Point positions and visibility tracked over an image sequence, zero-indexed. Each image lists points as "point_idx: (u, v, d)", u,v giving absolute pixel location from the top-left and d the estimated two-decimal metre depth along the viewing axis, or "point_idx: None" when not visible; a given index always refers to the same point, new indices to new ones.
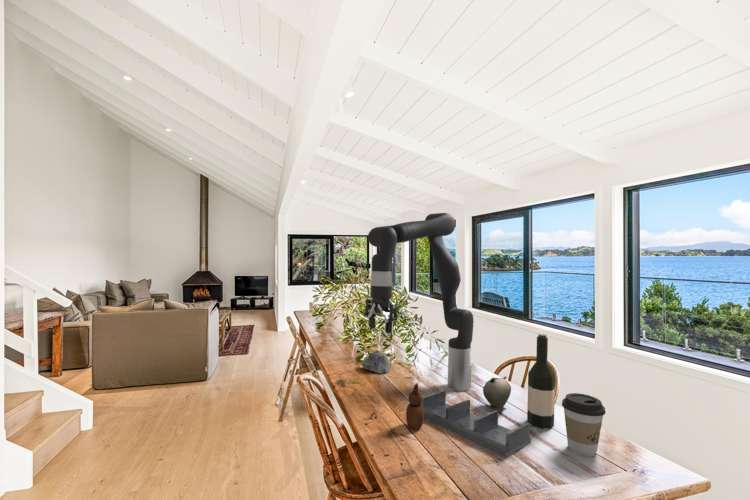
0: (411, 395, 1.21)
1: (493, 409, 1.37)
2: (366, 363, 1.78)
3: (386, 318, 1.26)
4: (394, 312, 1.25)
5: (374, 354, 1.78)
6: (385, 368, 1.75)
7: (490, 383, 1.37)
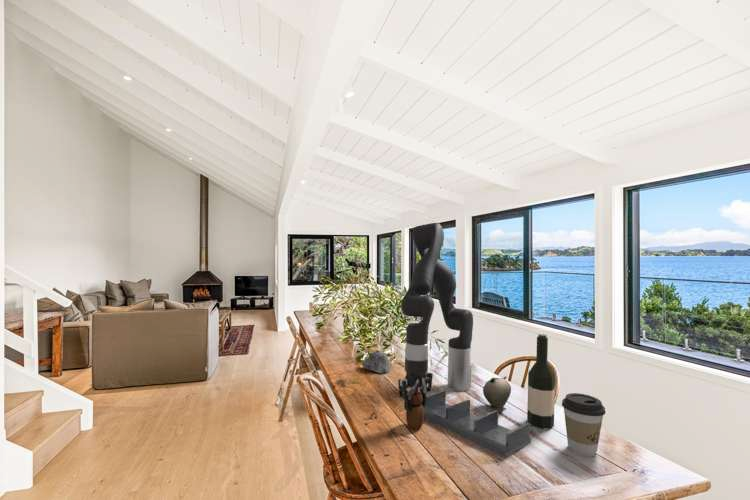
0: None
1: (493, 409, 1.37)
2: (366, 363, 1.79)
3: (425, 390, 1.24)
4: None
5: (374, 354, 1.78)
6: (385, 368, 1.75)
7: (490, 383, 1.37)
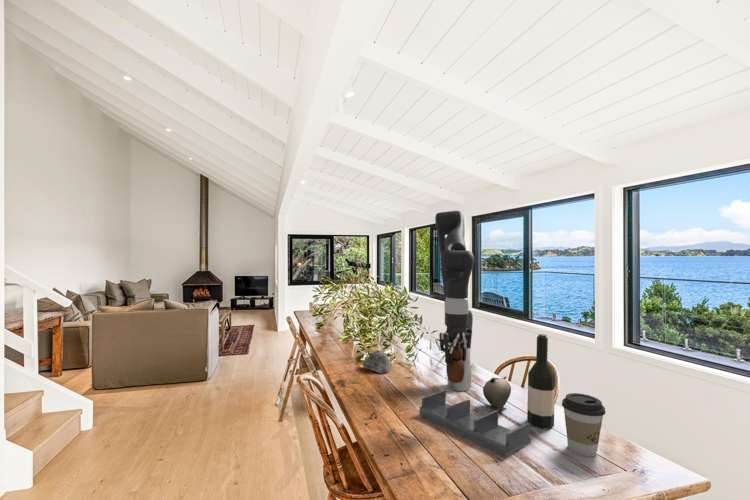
0: None
1: (493, 409, 1.37)
2: (367, 363, 1.79)
3: (465, 346, 1.24)
4: None
5: (375, 354, 1.78)
6: (385, 368, 1.75)
7: (490, 383, 1.37)
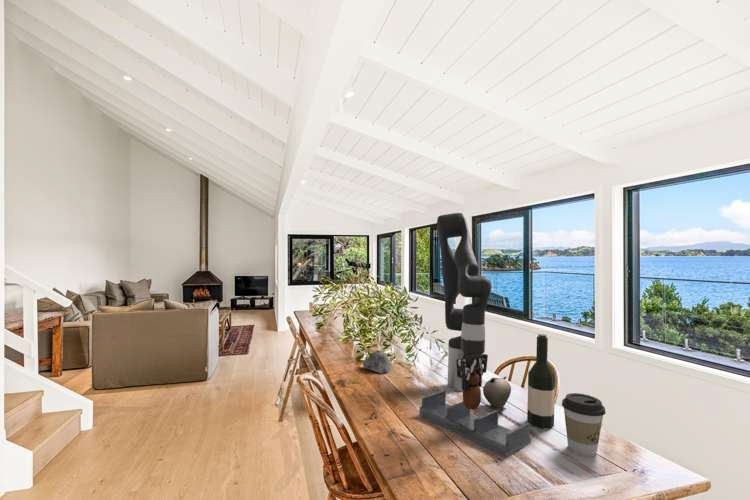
0: None
1: (493, 409, 1.37)
2: (367, 363, 1.79)
3: (481, 371, 1.24)
4: None
5: (375, 354, 1.78)
6: (385, 368, 1.75)
7: (490, 383, 1.37)
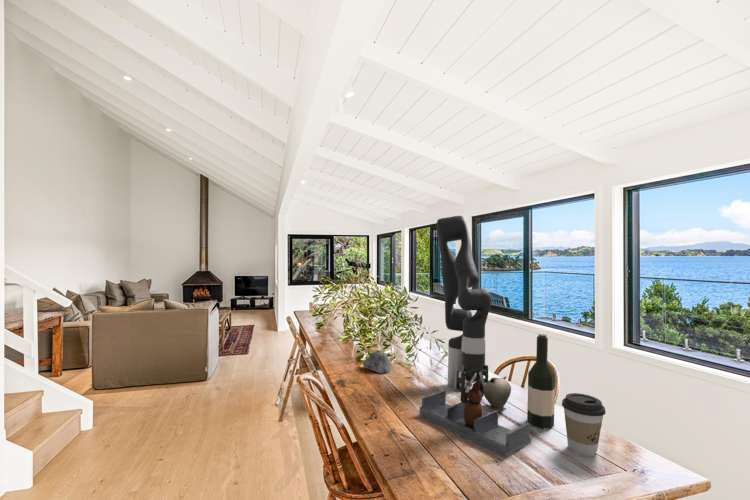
0: (471, 392, 1.21)
1: (493, 409, 1.37)
2: (367, 363, 1.79)
3: (483, 382, 1.24)
4: None
5: (375, 354, 1.78)
6: (385, 368, 1.75)
7: (490, 383, 1.37)
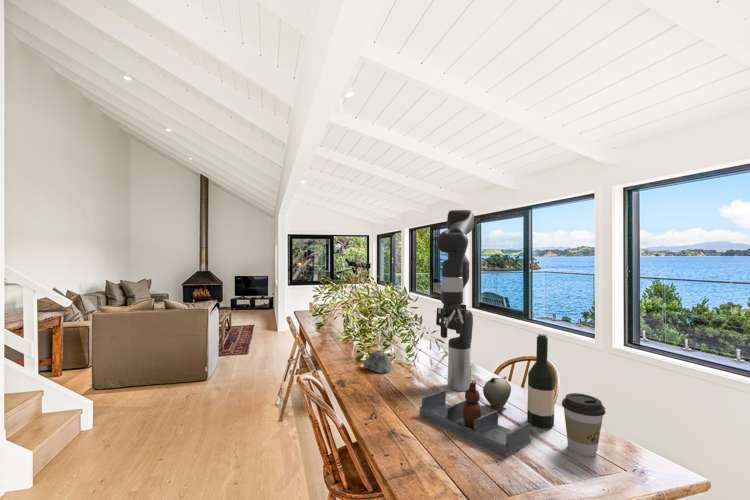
0: (468, 393, 1.21)
1: (493, 409, 1.37)
2: (367, 362, 1.79)
3: (462, 320, 1.34)
4: None
5: (375, 354, 1.78)
6: (385, 368, 1.75)
7: (490, 383, 1.37)
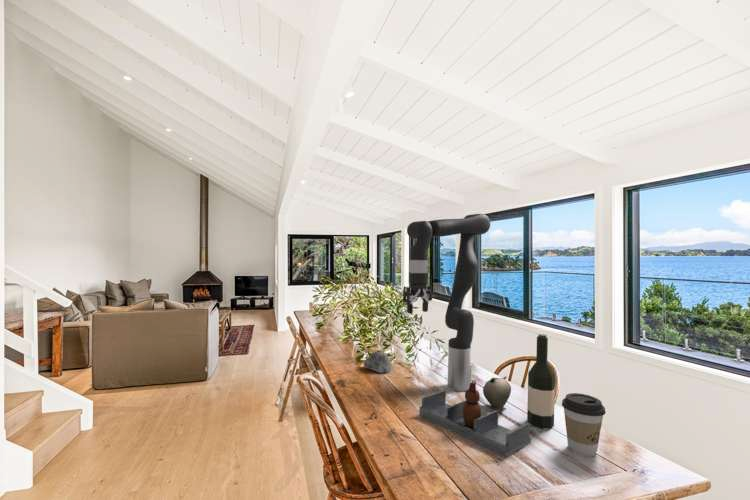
0: (468, 393, 1.21)
1: (493, 409, 1.37)
2: (368, 362, 1.80)
3: (427, 299, 1.50)
4: None
5: (375, 354, 1.78)
6: (385, 368, 1.75)
7: (490, 383, 1.37)
